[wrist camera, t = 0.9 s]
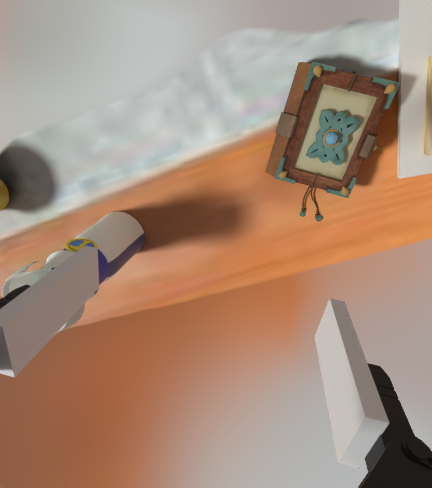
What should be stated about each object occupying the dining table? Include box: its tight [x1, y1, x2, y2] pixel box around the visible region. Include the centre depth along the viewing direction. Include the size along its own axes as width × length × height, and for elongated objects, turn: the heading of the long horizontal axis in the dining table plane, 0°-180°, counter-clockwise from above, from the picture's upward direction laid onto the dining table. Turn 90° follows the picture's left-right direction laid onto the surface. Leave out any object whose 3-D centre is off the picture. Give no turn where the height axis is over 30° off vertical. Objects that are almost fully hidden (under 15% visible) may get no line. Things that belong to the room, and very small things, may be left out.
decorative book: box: [266, 61, 400, 221], centre depth 35 cm, size 13×18×5 cm
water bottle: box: [3, 211, 145, 332], centre depth 36 cm, size 8×9×25 cm
